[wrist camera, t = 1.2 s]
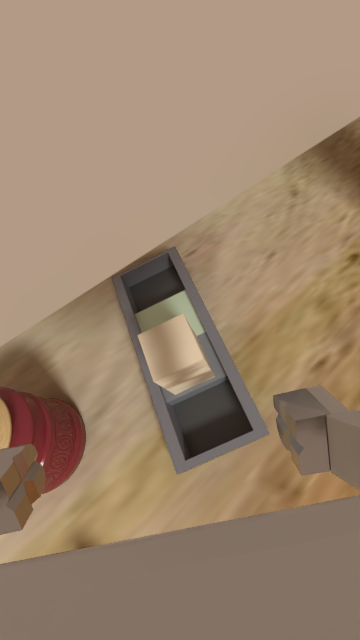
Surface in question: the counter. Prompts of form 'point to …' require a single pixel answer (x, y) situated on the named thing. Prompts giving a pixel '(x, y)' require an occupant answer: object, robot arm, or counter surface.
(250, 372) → the counter surface
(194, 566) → the robot arm
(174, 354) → the block
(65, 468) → the canister
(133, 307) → the box
